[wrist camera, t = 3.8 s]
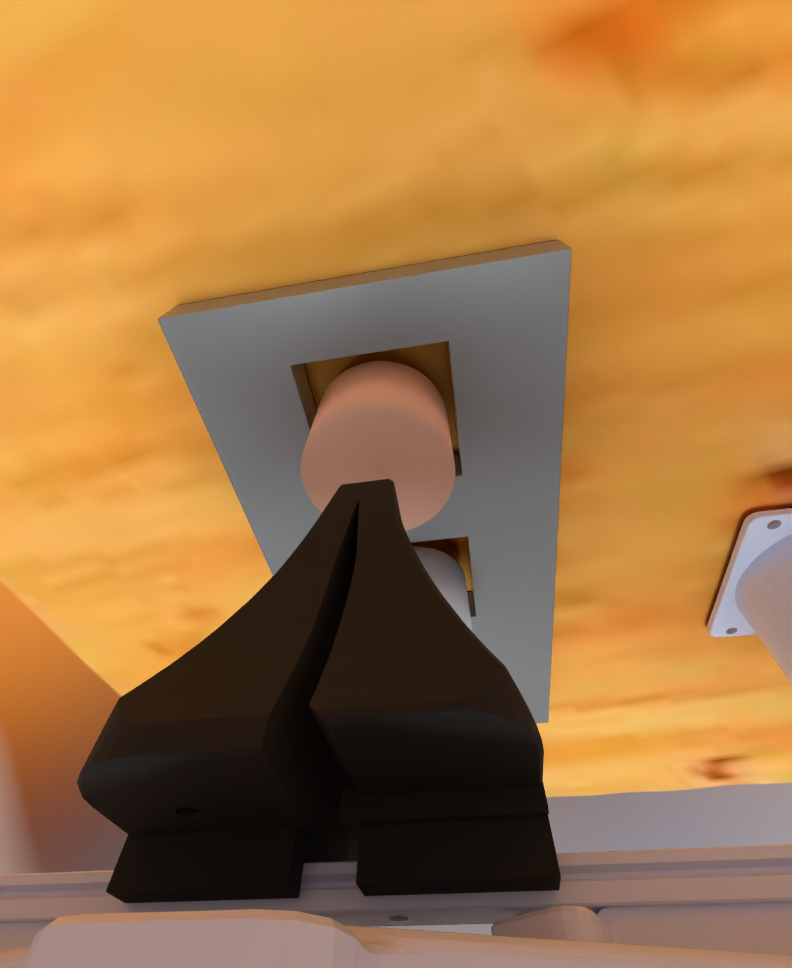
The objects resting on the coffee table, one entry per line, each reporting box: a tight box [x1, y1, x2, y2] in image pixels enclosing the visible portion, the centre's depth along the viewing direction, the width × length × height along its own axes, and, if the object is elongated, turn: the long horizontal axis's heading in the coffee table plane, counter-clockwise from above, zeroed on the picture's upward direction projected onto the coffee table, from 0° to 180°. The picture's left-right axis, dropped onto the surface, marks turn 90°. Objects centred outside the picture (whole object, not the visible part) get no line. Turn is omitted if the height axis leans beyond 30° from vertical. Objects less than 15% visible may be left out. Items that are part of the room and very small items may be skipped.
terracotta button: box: [301, 361, 455, 531], centre depth 15 cm, size 4×4×3 cm
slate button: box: [413, 546, 473, 632], centre depth 19 cm, size 4×4×3 cm
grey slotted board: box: [158, 240, 571, 723], centre depth 21 cm, size 12×25×2 cm, turn 9°
